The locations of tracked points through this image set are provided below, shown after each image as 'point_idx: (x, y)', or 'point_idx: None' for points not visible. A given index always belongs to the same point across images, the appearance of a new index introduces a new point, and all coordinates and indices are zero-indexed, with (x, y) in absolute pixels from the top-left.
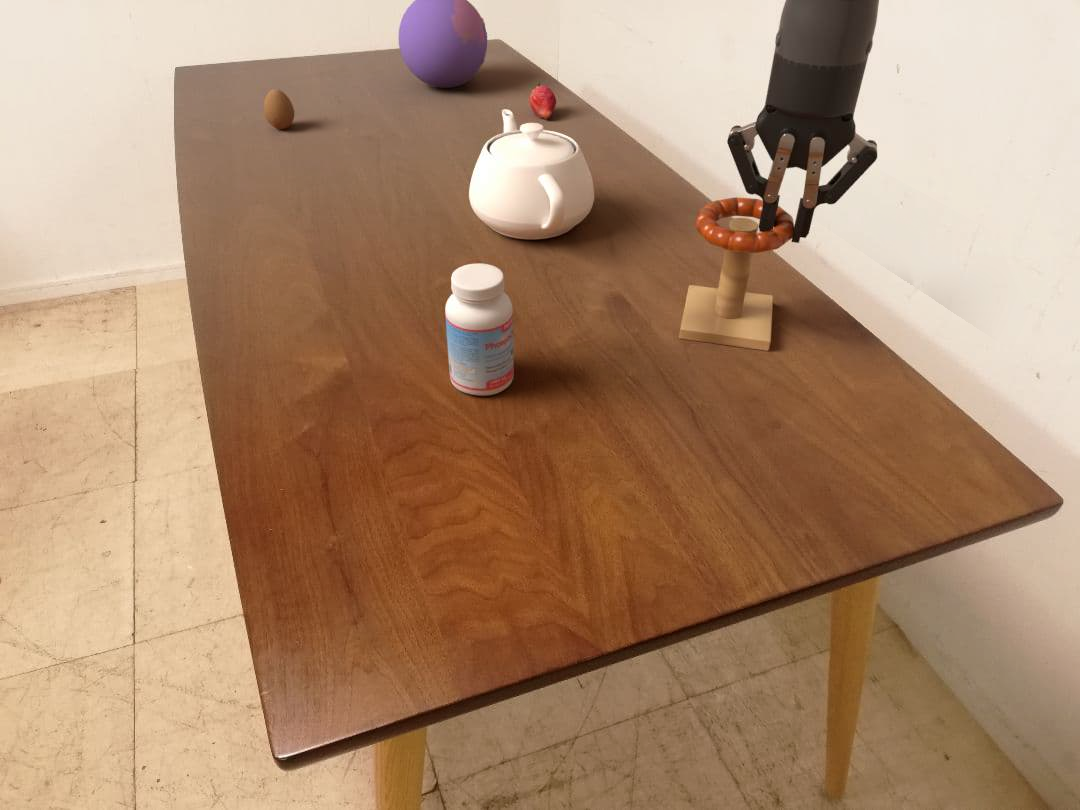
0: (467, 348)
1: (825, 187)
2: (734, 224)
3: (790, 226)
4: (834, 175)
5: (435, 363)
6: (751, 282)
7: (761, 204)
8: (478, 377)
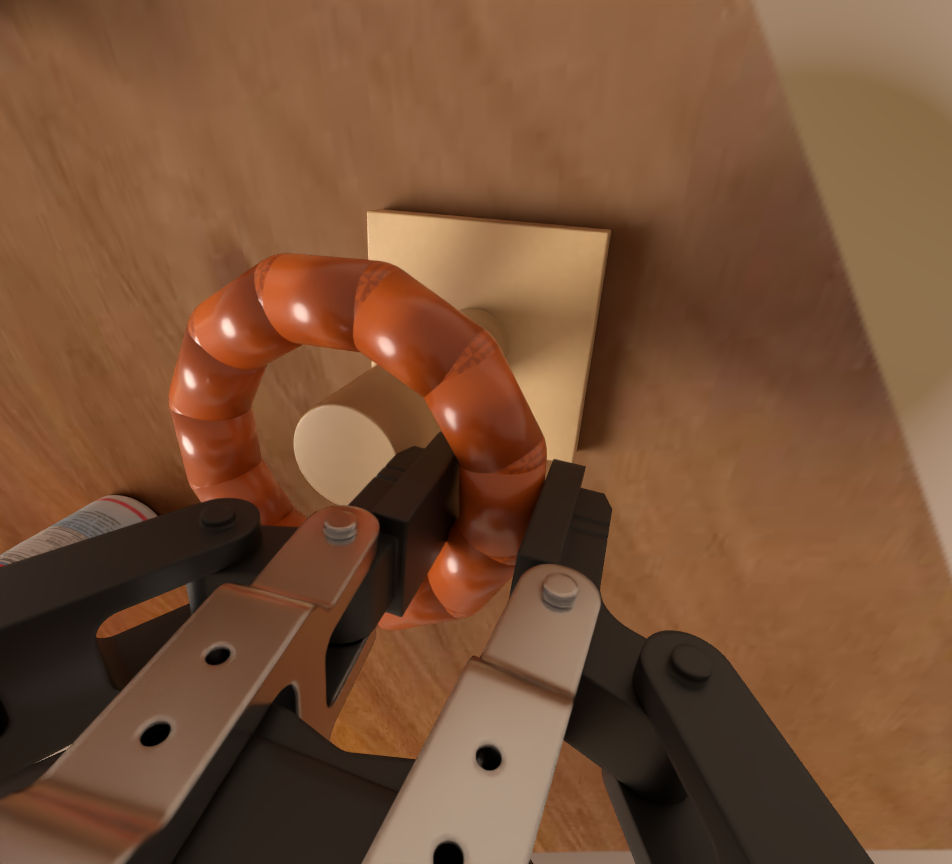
0: None
1: (615, 737)
2: (313, 464)
3: (507, 565)
4: (690, 747)
5: (71, 496)
6: (564, 82)
7: (381, 359)
8: None
